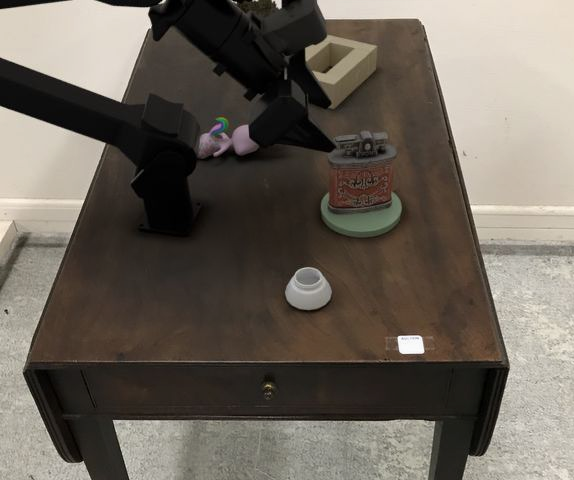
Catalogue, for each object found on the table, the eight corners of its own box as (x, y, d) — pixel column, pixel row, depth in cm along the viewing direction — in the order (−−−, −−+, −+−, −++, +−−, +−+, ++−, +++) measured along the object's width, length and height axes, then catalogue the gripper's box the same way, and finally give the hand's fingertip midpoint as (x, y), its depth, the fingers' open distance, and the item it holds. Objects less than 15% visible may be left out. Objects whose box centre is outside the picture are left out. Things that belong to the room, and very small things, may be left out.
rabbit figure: (187, 175, 96) (293, 157, 94) (173, 137, 92) (284, 118, 90) (192, 150, 101) (293, 132, 98) (179, 113, 96) (285, 94, 94)
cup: (233, 62, 116) (228, 14, 110) (236, 42, 121) (232, -5, 115) (277, 61, 116) (275, 13, 110) (279, 41, 121) (277, -6, 115)
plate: (395, 242, 83) (395, 236, 82) (312, 231, 85) (312, 225, 84) (406, 193, 89) (406, 186, 89) (329, 184, 91) (329, 178, 91)
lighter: (388, 193, 88) (394, 122, 80) (395, 210, 85) (401, 138, 78) (325, 201, 87) (325, 130, 80) (330, 217, 85) (330, 146, 78)
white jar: (315, 318, 74) (339, 291, 77) (315, 299, 72) (340, 271, 75) (277, 301, 77) (301, 275, 79) (275, 281, 74) (301, 255, 77)
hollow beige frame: (333, 109, 104) (334, 84, 102) (269, 91, 109) (268, 67, 106) (375, 70, 112) (377, 45, 110) (314, 55, 117) (314, 31, 114)
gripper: (277, 13, 60) (395, 123, 68) (277, -62, 73) (377, 38, 81) (197, 100, 66) (314, 192, 74) (210, 17, 79) (309, 103, 86)
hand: (331, 126), depth 78 cm, fingers open, 9 cm apart
